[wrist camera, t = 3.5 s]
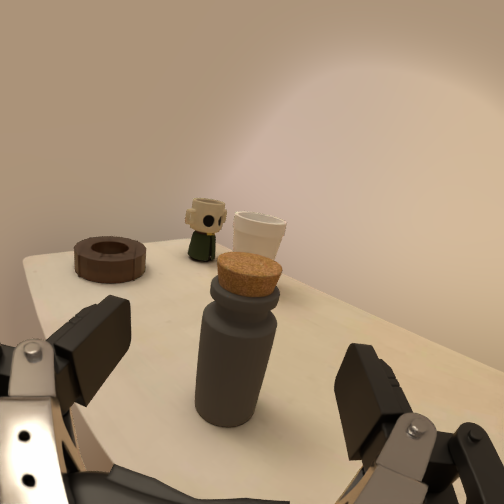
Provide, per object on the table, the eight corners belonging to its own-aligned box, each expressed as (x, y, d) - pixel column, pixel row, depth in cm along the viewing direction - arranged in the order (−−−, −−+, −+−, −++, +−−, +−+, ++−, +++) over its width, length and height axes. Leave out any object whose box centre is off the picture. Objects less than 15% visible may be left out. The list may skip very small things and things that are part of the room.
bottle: (205, 379, 28) (223, 243, 24) (259, 394, 27) (293, 259, 23) (185, 415, 23) (196, 264, 18) (247, 434, 22) (286, 287, 17)
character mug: (189, 266, 58) (198, 203, 54) (172, 255, 62) (179, 197, 59) (229, 260, 66) (238, 204, 62) (210, 250, 70) (218, 198, 66)
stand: (66, 280, 41) (65, 257, 40) (83, 252, 53) (83, 234, 52) (144, 285, 46) (145, 263, 45) (145, 256, 58) (146, 238, 57)
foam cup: (213, 280, 54) (223, 212, 50) (243, 271, 61) (254, 210, 57) (253, 300, 49) (268, 226, 45) (281, 287, 56) (295, 223, 52)
